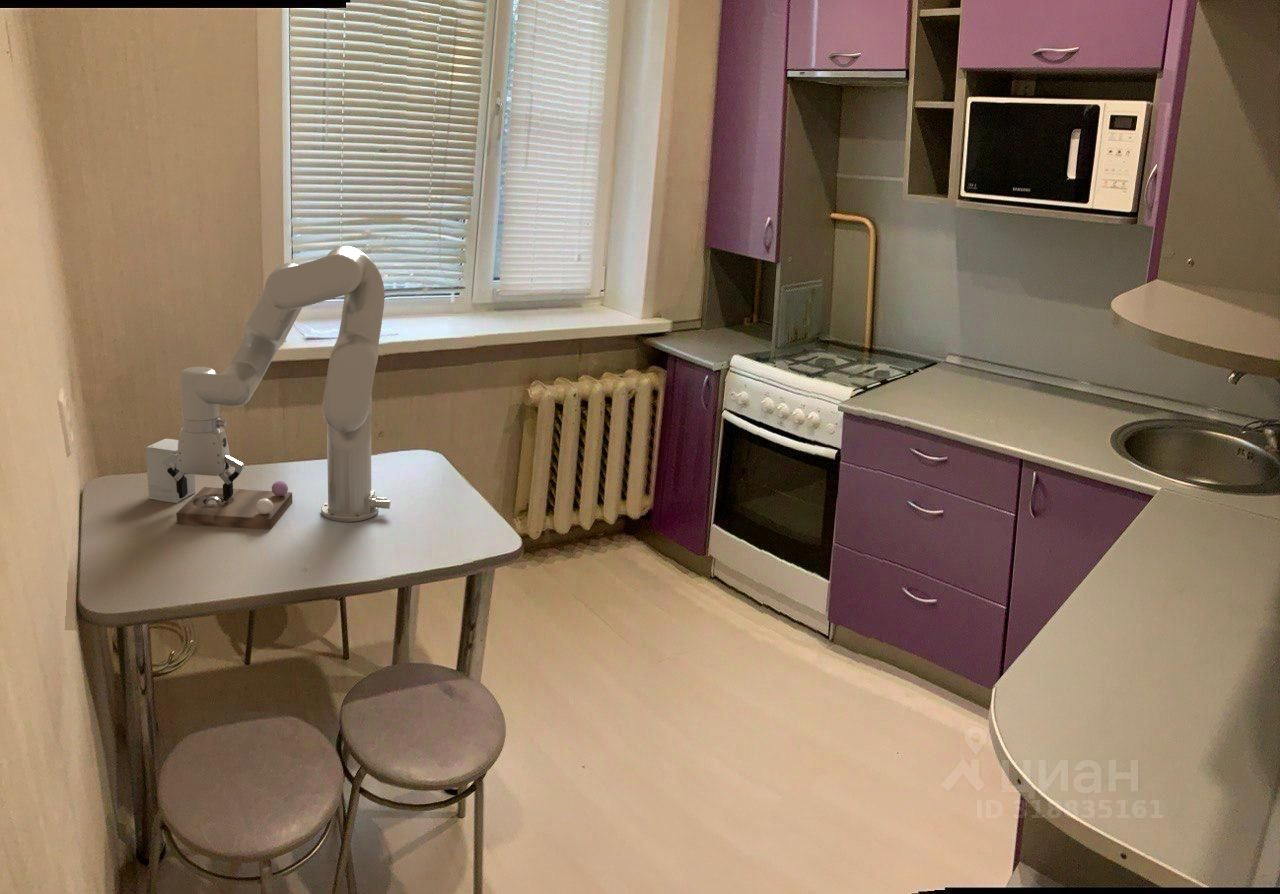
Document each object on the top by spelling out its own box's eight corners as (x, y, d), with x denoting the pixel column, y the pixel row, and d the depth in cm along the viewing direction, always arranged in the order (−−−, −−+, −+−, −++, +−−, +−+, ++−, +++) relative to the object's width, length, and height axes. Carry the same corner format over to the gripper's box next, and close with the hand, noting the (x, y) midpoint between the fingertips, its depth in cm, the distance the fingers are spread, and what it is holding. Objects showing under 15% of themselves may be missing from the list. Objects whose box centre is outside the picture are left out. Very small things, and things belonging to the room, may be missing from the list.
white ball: (275, 511, 228) (274, 496, 227) (270, 517, 225) (269, 502, 224) (259, 510, 228) (258, 495, 227) (254, 516, 225) (253, 501, 224)
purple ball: (290, 493, 239) (289, 479, 238) (285, 499, 235) (285, 484, 234) (274, 492, 238) (274, 478, 237) (269, 498, 235) (269, 483, 234)
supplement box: (177, 504, 234) (173, 451, 230) (147, 499, 236) (143, 446, 232) (197, 493, 241) (193, 441, 237) (168, 488, 242) (164, 437, 239)
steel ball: (207, 493, 232) (209, 508, 234) (201, 499, 229) (203, 514, 230) (223, 493, 232) (225, 508, 234) (217, 499, 229) (219, 514, 230)
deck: (292, 502, 240) (292, 492, 239) (270, 529, 225) (270, 518, 224) (204, 497, 239) (203, 486, 238) (177, 523, 224) (176, 513, 223)
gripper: (247, 421, 229) (250, 494, 235) (167, 416, 229) (172, 489, 234) (235, 432, 222) (239, 506, 228) (153, 426, 221) (158, 501, 227)
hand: (205, 497), depth 231 cm, fingers open, 9 cm apart
